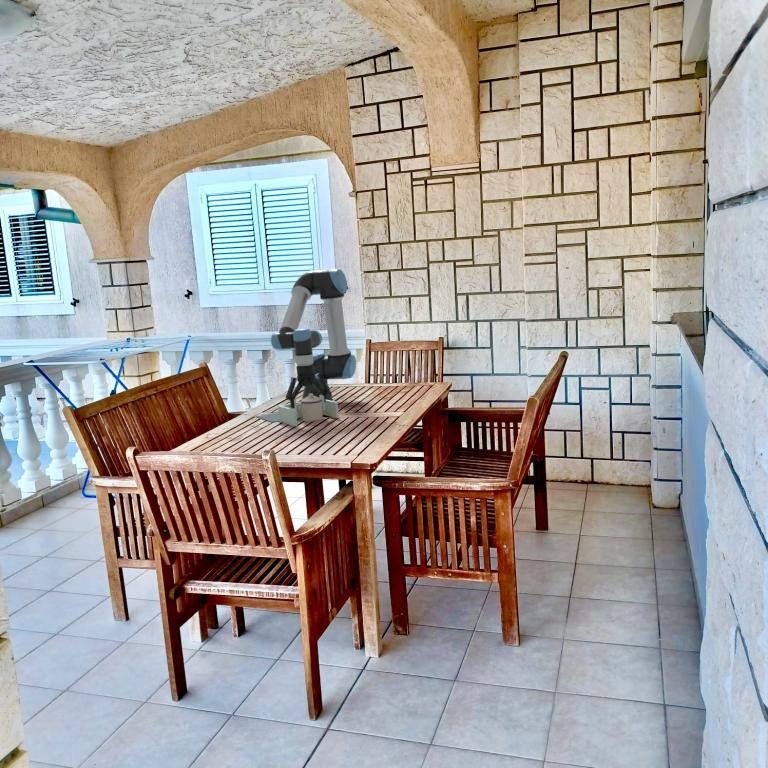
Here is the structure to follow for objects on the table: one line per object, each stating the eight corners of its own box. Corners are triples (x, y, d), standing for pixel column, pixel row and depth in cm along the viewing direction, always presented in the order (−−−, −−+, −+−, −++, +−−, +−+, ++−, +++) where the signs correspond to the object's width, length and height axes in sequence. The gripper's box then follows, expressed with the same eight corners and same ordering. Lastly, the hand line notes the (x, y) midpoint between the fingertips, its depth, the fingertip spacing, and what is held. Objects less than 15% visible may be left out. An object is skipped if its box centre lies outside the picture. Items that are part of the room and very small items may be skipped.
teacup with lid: (326, 417, 327) (323, 391, 325) (319, 421, 318) (317, 395, 317) (300, 417, 330) (298, 392, 328) (293, 422, 321) (291, 396, 319)
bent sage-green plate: (321, 413, 337) (320, 398, 336) (338, 417, 324) (337, 402, 323) (279, 421, 326) (277, 405, 325) (295, 426, 313) (293, 410, 312)
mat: (291, 410, 349) (291, 409, 349) (308, 415, 334) (308, 414, 334) (255, 417, 339) (255, 416, 339) (272, 422, 324) (272, 421, 324)
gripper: (325, 360, 330) (329, 406, 333) (275, 367, 317) (279, 416, 320) (334, 361, 324) (338, 408, 327) (282, 369, 311) (287, 418, 314)
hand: (309, 412), depth 324 cm, fingers open, 13 cm apart
